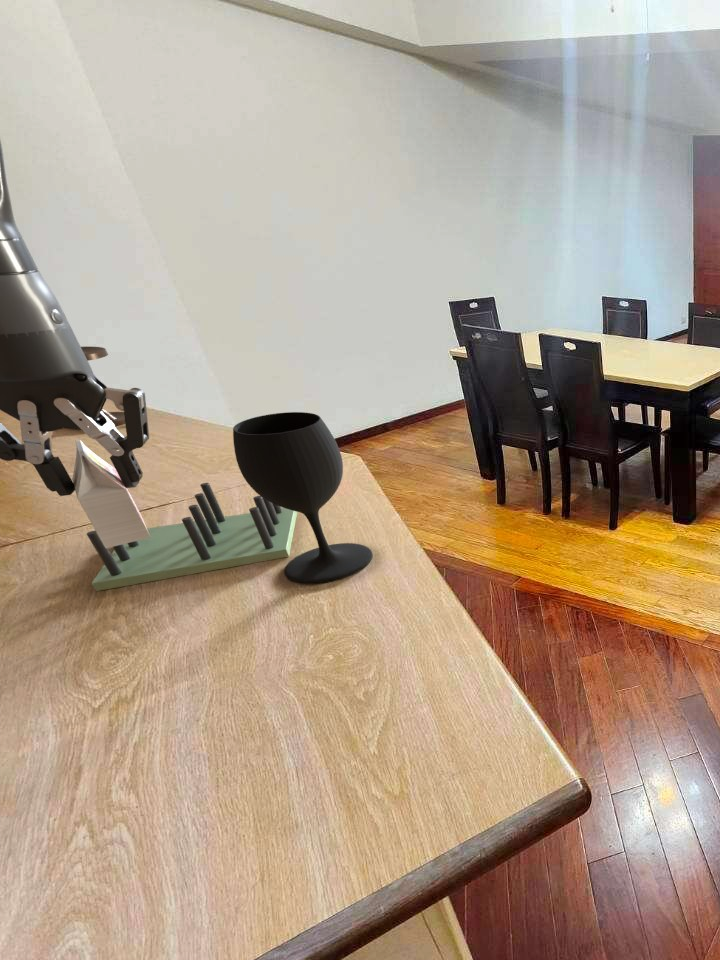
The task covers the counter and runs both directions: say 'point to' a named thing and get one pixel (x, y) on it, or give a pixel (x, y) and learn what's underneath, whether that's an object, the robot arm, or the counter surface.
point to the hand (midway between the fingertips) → (100, 488)
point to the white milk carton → (106, 500)
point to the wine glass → (299, 485)
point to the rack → (198, 543)
